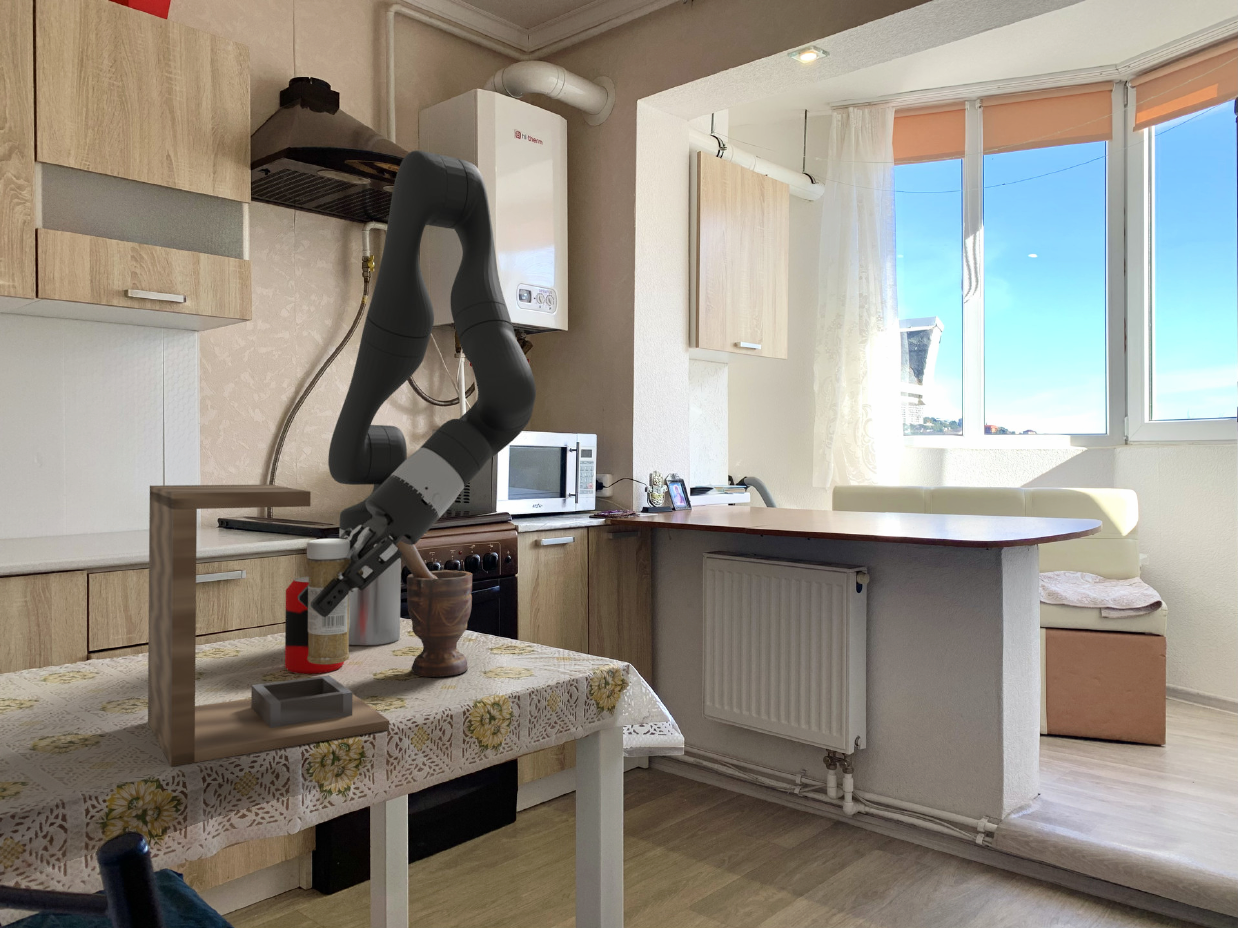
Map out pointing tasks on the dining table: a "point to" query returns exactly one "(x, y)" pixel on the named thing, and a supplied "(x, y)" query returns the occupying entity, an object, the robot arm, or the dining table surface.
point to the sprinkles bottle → (333, 630)
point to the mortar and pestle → (437, 614)
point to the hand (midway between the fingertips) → (310, 607)
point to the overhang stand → (172, 715)
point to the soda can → (300, 633)
